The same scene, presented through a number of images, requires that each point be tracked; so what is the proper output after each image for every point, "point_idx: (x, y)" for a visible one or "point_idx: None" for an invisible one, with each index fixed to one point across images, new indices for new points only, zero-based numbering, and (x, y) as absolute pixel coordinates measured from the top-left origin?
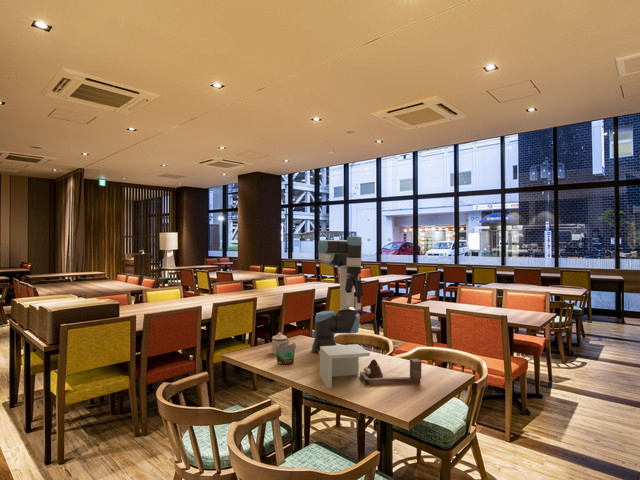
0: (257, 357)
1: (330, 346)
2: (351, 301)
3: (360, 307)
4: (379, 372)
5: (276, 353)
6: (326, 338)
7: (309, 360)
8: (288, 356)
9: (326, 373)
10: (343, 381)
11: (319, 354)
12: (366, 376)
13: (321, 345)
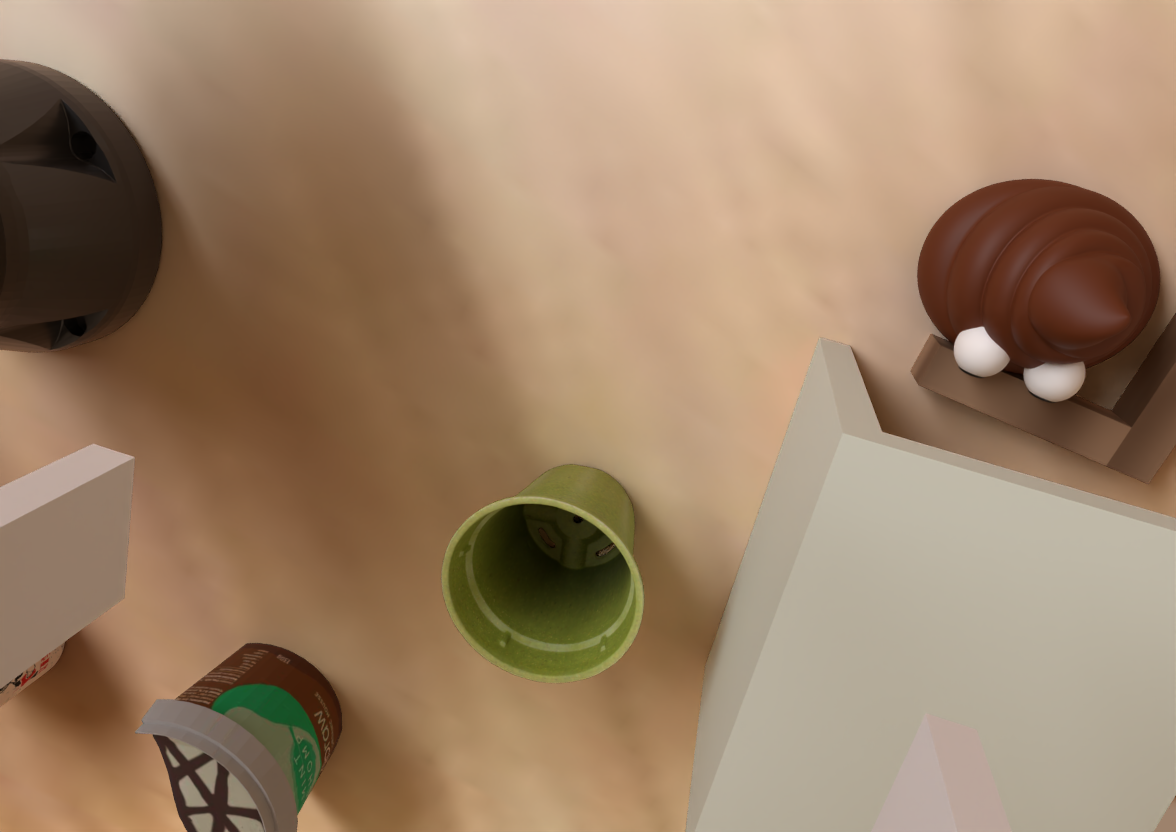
0: (83, 802)
1: (742, 781)
2: (42, 506)
3: (984, 789)
4: (1151, 278)
5: (49, 669)
6: (3, 270)
7: (284, 509)
8: (310, 771)
9: None
10: None
11: (544, 678)
12: (1075, 418)
13: (64, 315)
